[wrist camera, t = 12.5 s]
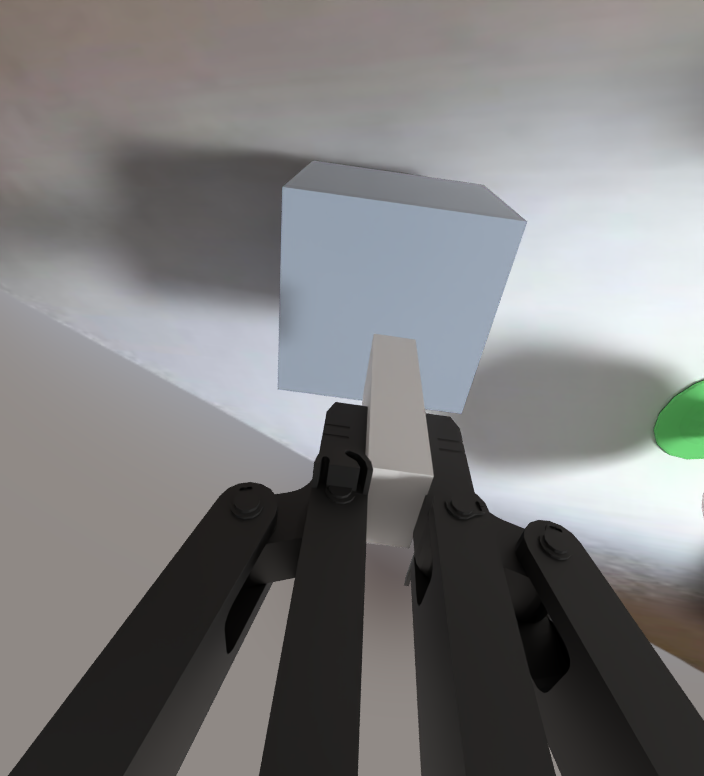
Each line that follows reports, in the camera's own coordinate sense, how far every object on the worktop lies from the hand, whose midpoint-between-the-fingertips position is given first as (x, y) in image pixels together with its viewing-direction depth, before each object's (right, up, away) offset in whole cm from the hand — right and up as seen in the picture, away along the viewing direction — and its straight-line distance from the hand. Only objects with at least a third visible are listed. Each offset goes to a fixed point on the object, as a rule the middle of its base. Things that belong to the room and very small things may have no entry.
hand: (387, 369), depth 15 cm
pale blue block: (+1, +7, +11) cm, 13 cm away
